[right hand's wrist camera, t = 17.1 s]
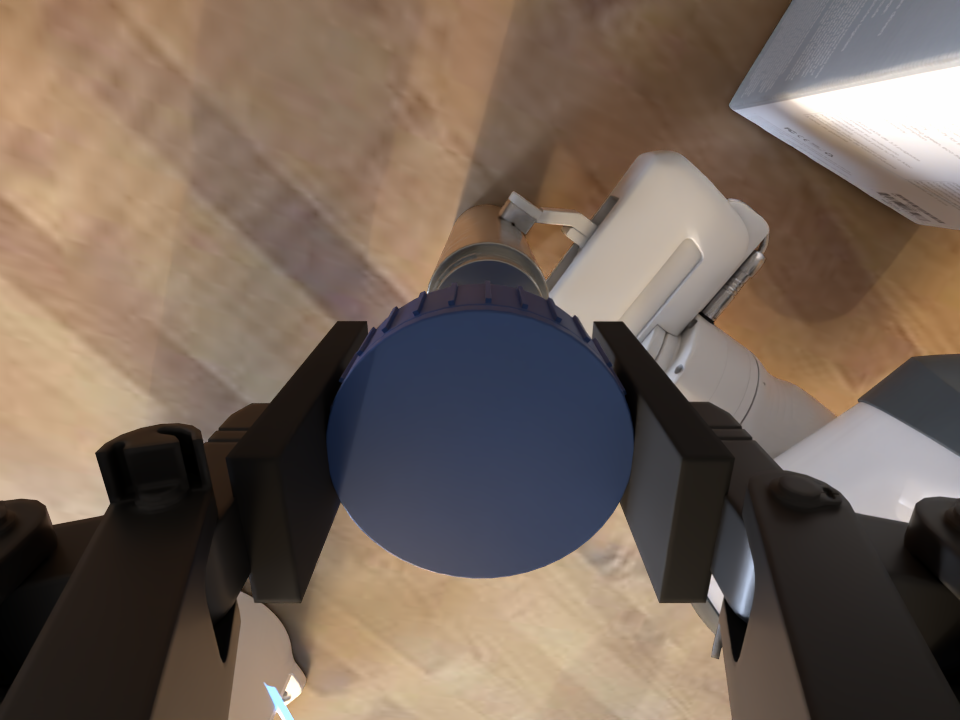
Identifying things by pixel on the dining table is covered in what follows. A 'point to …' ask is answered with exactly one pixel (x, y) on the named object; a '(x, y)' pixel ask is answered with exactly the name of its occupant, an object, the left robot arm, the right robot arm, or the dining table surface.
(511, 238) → the jar
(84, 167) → the dining table surface
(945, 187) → the hard drive box
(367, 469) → the lid
